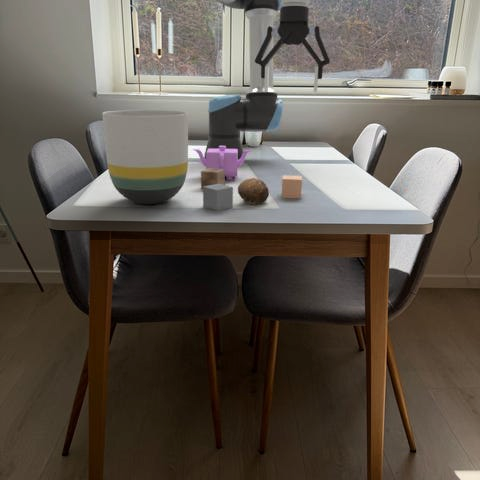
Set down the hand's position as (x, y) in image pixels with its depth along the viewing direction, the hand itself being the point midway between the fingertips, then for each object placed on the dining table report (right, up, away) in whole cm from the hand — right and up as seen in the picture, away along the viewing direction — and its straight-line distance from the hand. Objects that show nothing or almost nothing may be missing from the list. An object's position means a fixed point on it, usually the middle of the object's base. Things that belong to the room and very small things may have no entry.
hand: (290, 91), depth 128 cm
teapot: (-20, -22, +16) cm, 33 cm away
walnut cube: (-22, -26, +2) cm, 34 cm away
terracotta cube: (0, -29, -5) cm, 30 cm away
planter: (-36, -32, -13) cm, 50 cm away
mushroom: (-11, -32, -12) cm, 36 cm away
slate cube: (-19, -33, -17) cm, 42 cm away
